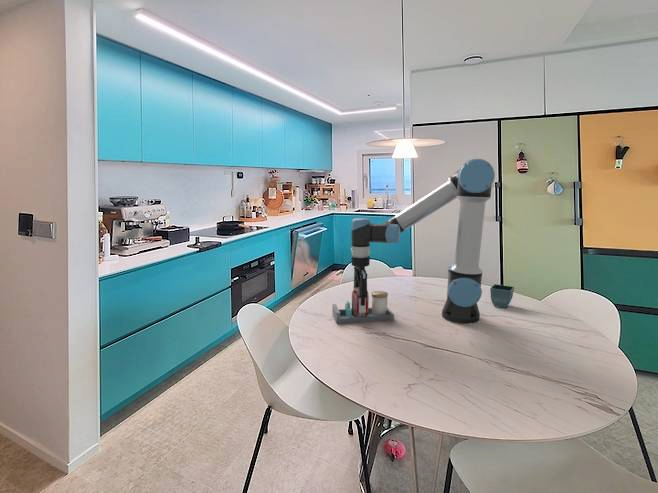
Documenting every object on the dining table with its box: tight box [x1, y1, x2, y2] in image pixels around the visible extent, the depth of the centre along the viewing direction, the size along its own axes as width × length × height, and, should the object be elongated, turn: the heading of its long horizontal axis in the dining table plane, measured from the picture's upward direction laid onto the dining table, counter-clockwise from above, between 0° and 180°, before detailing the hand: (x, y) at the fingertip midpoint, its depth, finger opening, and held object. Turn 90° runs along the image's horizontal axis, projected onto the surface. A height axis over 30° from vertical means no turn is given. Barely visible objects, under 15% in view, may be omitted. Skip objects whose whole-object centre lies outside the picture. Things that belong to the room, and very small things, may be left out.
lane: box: [331, 303, 395, 325], centre depth 155 cm, size 24×11×5 cm, turn 98°
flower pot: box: [489, 283, 515, 309], centre depth 169 cm, size 9×9×9 cm
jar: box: [371, 290, 389, 316], centre depth 156 cm, size 7×7×10 cm
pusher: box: [344, 300, 352, 317], centre depth 154 cm, size 1×8×7 cm, turn 8°
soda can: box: [351, 287, 370, 317], centre depth 154 cm, size 7×7×12 cm
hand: (360, 309), depth 155 cm, fingers closed on soda can, 7 cm apart
